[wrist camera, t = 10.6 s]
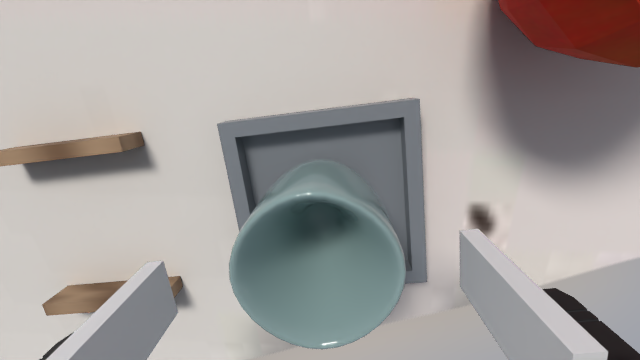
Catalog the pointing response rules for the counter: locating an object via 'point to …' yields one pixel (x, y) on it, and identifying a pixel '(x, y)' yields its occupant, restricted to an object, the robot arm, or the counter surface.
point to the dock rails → (86, 294)
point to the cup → (318, 257)
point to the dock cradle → (339, 145)
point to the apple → (581, 27)
